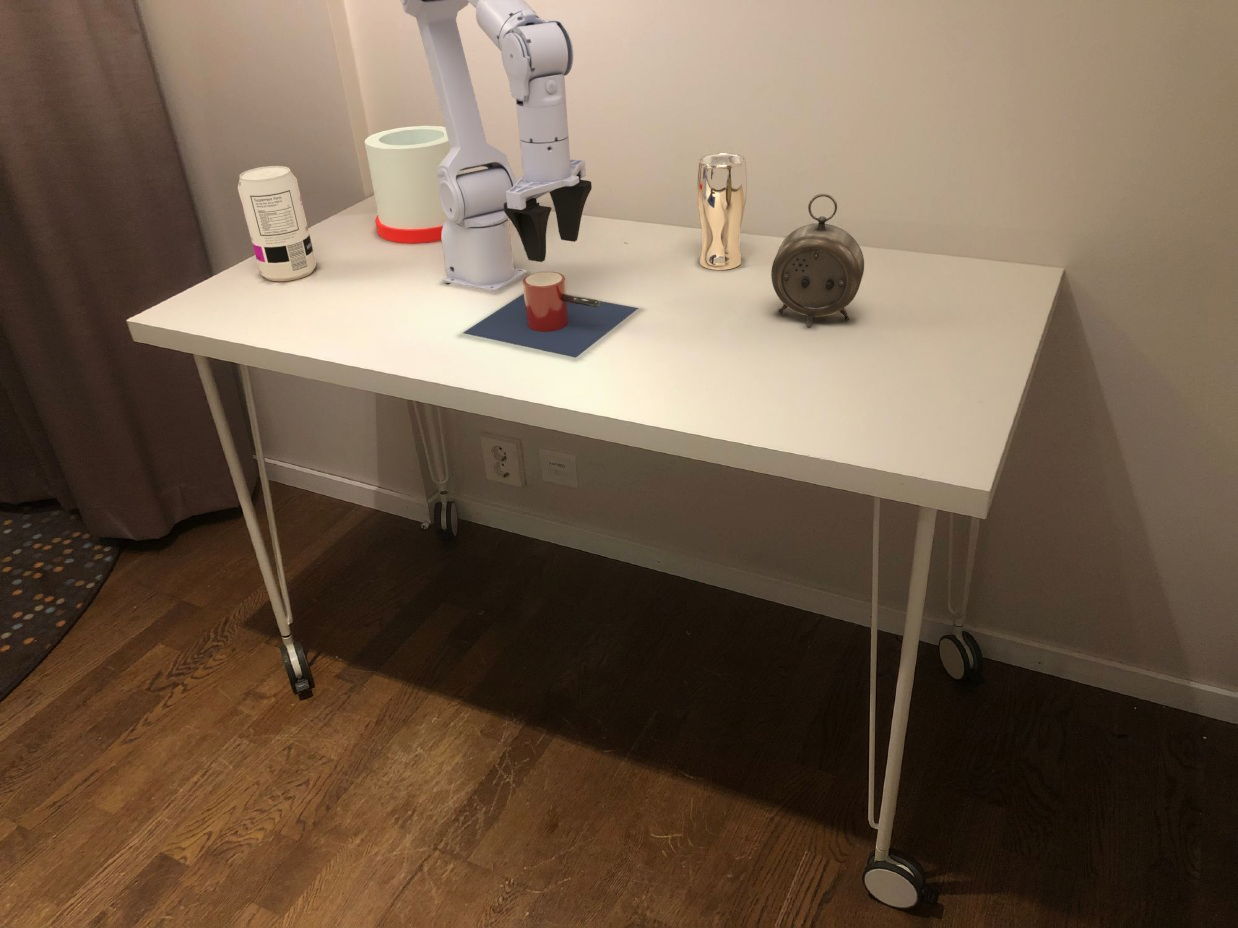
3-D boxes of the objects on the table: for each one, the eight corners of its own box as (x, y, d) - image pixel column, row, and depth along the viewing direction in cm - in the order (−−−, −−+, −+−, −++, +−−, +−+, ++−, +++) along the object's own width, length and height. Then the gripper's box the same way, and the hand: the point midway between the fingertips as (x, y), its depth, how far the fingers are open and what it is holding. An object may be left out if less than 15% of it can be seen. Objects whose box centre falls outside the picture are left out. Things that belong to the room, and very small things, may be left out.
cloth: (462, 334, 119) (462, 332, 119) (531, 290, 131) (531, 288, 131) (575, 359, 112) (575, 357, 112) (638, 310, 124) (638, 308, 124)
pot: (518, 327, 120) (514, 283, 117) (541, 311, 124) (537, 268, 121) (590, 342, 115) (587, 296, 112) (611, 325, 119) (609, 280, 116)
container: (491, 216, 159) (480, 128, 151) (439, 247, 147) (425, 153, 139) (413, 208, 165) (399, 122, 157) (357, 237, 153) (339, 146, 145)
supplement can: (249, 280, 139) (222, 179, 131) (285, 260, 145) (261, 163, 137) (293, 285, 136) (268, 183, 128) (328, 265, 143) (306, 166, 134)
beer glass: (742, 272, 133) (745, 166, 125) (693, 270, 135) (694, 165, 127) (746, 255, 139) (749, 152, 131) (699, 253, 140) (700, 152, 132)
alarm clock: (859, 316, 119) (872, 189, 110) (853, 334, 115) (867, 204, 106) (774, 308, 122) (780, 184, 114) (766, 325, 118) (772, 198, 109)
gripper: (538, 156, 101) (549, 274, 109) (604, 125, 112) (609, 235, 119) (486, 150, 104) (499, 266, 112) (554, 121, 115) (562, 228, 122)
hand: (553, 250), depth 116 cm, fingers open, 7 cm apart
